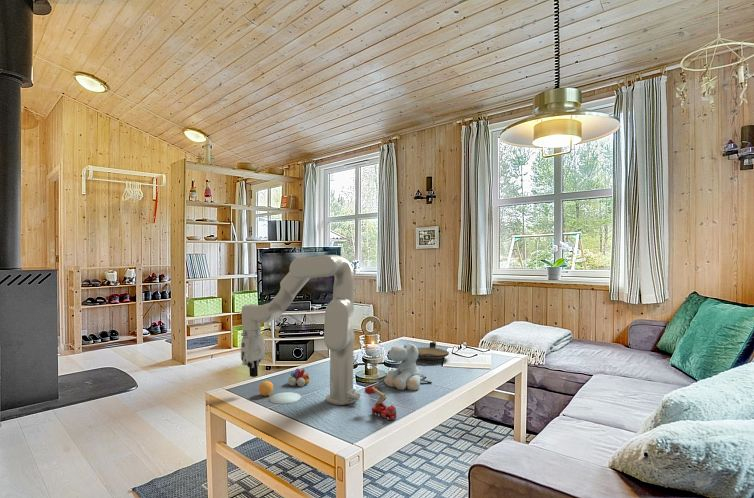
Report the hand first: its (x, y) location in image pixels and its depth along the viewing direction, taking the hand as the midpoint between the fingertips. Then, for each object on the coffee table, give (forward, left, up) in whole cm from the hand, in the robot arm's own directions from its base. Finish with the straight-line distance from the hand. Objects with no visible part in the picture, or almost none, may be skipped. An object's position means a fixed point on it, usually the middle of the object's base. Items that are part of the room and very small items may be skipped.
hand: (253, 376), depth 178 cm
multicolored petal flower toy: (-7, -20, -8) cm, 23 cm away
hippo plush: (-49, -49, -8) cm, 70 cm away
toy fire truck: (-58, -10, -8) cm, 59 cm away
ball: (-6, -2, -5) cm, 7 cm away
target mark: (-15, -4, -8) cm, 17 cm away
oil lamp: (-40, -95, -8) cm, 103 cm away
